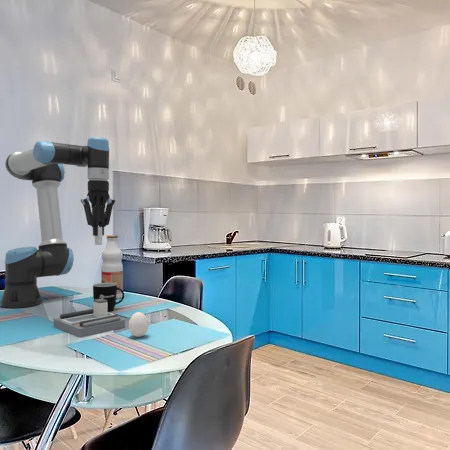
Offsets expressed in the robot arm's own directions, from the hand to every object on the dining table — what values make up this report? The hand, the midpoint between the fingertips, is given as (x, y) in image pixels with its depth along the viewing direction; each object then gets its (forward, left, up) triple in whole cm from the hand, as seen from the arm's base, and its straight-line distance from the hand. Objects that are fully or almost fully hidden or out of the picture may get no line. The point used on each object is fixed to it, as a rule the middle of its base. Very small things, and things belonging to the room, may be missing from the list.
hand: (98, 244), depth 156 cm
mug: (-6, +8, -27) cm, 28 cm away
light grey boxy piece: (+11, -6, -24) cm, 27 cm away
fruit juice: (-26, +22, -27) cm, 43 cm away
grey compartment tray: (+11, -10, -26) cm, 30 cm away
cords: (+12, -10, -24) cm, 28 cm away
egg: (+32, -5, -27) cm, 42 cm away
